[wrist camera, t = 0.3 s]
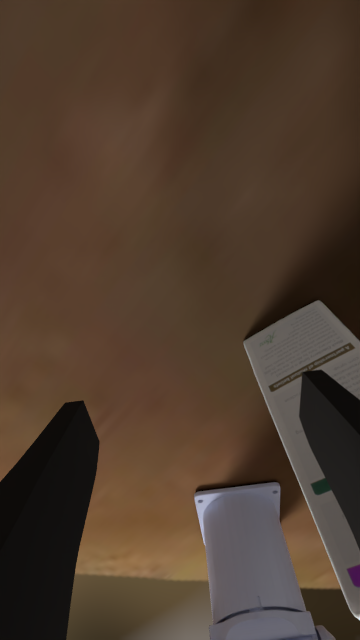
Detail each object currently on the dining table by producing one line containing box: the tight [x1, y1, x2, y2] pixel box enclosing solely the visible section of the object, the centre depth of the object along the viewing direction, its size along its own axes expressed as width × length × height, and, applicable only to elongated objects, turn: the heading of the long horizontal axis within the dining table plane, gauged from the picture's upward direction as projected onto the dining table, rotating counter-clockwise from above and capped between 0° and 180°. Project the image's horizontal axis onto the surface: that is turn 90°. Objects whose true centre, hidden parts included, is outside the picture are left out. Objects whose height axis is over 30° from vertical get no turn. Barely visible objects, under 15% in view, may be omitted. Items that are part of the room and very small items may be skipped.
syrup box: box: [244, 300, 360, 620], centre depth 16 cm, size 6×6×14 cm
